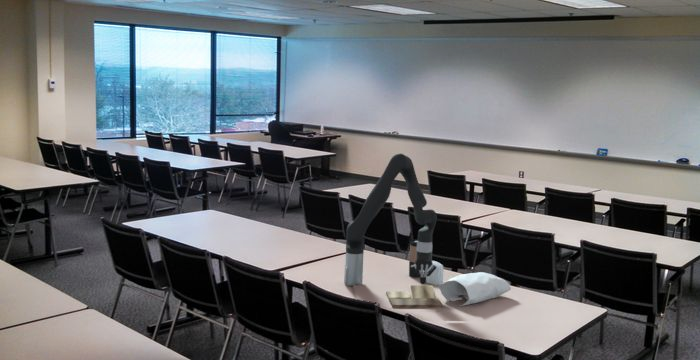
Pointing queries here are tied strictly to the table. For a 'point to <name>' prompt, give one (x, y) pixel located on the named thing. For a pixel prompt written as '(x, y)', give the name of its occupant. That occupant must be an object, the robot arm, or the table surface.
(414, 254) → the travel mug
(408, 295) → the oak plank left
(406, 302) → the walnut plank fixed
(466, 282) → the bag
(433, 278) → the photo printer
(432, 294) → the oak plank right
